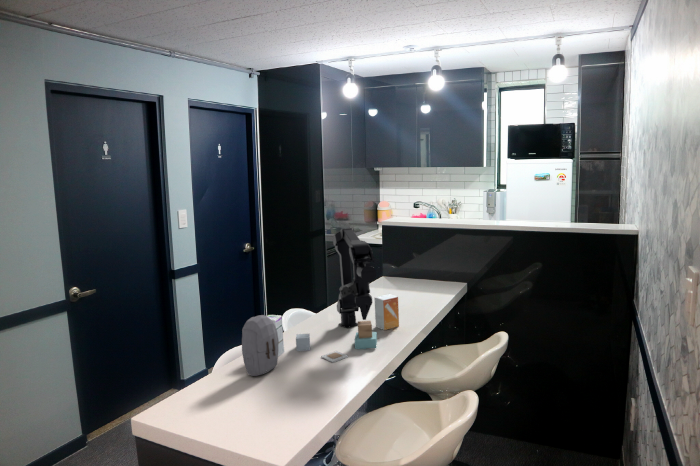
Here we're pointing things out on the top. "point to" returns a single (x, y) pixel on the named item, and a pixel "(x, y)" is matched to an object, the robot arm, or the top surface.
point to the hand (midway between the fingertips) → (363, 316)
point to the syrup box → (278, 331)
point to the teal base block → (366, 341)
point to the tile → (334, 356)
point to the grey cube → (303, 342)
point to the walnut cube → (364, 329)
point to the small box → (386, 311)
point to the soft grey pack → (259, 345)
